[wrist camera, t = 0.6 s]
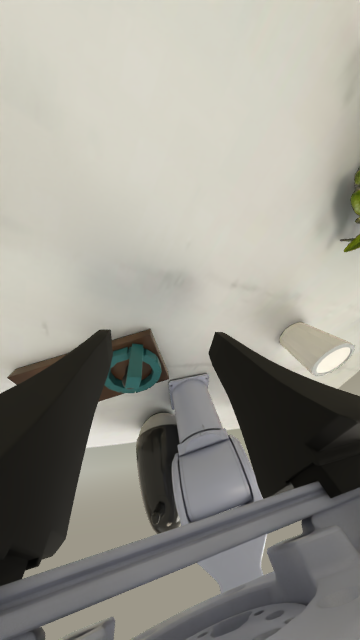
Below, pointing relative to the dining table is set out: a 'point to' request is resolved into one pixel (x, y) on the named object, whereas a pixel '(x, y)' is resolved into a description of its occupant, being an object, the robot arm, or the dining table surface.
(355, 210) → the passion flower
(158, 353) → the peg rack
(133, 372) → the ring
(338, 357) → the cream cup
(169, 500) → the pump dispenser
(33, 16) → the dining table surface
